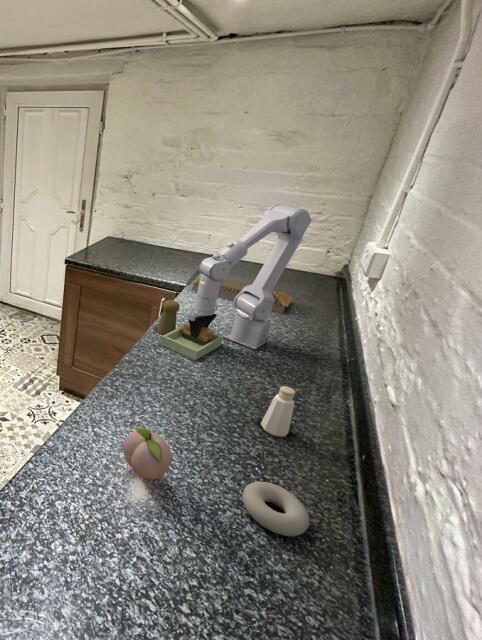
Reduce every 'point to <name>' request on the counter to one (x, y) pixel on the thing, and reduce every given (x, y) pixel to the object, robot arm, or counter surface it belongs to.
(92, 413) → the counter surface
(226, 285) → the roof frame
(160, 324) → the pepper mill
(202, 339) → the orange brown rectangular block
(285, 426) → the salt shaker
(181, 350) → the tray
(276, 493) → the donut
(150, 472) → the decorative fruit
